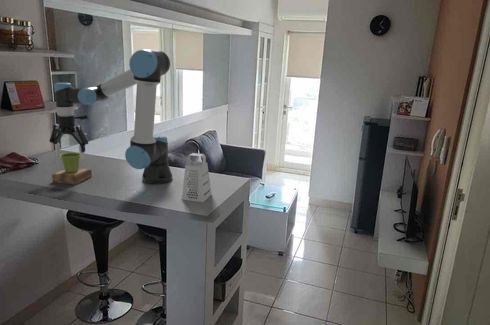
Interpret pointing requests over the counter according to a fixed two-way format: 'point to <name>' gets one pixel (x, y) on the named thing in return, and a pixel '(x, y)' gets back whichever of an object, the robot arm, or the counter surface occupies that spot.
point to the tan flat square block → (72, 176)
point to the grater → (196, 179)
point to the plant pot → (70, 162)
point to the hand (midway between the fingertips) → (70, 157)
